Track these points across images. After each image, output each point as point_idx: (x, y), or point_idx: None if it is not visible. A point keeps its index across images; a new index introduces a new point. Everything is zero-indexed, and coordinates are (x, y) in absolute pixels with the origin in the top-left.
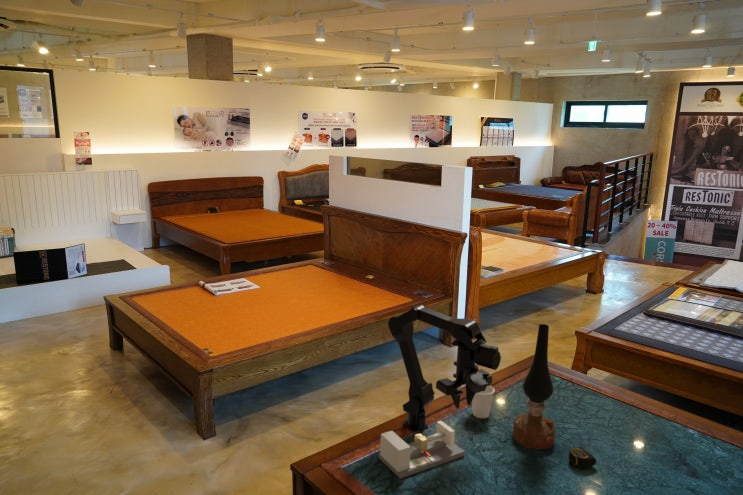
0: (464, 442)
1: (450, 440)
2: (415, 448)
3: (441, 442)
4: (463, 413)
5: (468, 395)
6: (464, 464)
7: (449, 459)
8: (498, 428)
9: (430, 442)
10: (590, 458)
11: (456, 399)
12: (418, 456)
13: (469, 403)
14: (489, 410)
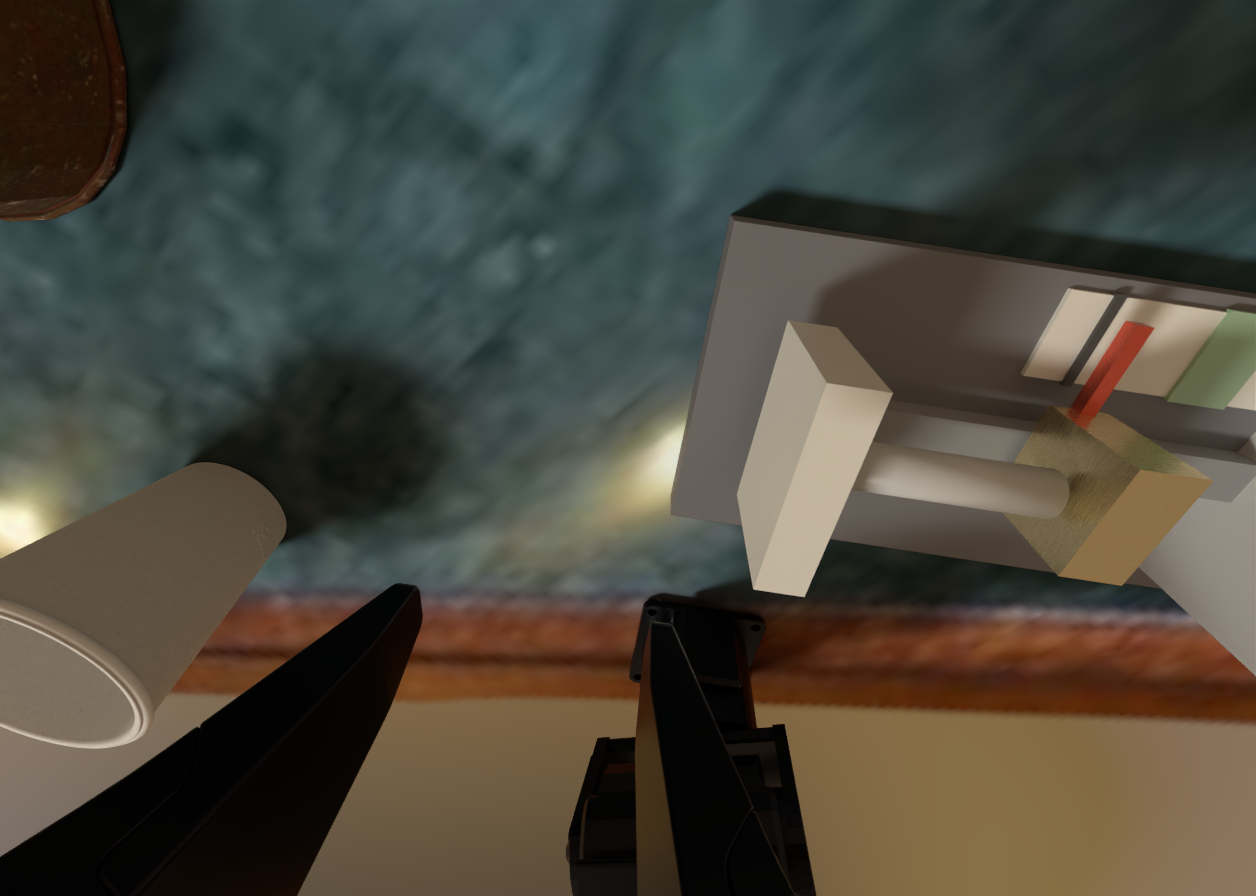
0: (575, 350)
1: (856, 351)
2: None
3: None
4: (340, 571)
5: (320, 779)
6: (849, 103)
7: (905, 242)
8: (192, 318)
9: None
10: None
11: (765, 860)
12: None
13: (402, 611)
14: (143, 488)
